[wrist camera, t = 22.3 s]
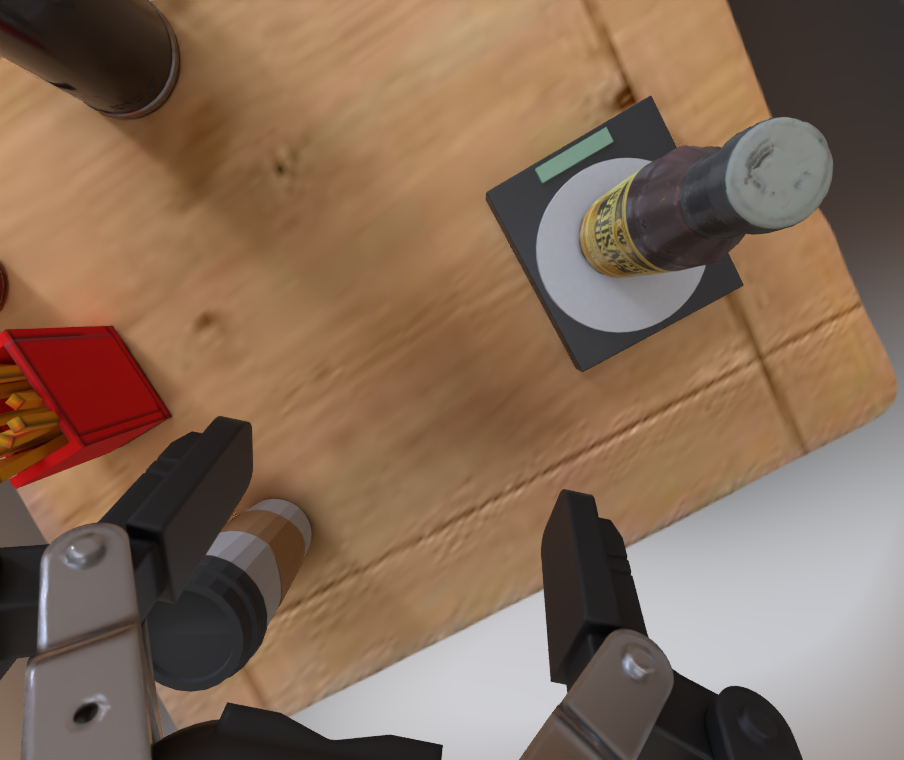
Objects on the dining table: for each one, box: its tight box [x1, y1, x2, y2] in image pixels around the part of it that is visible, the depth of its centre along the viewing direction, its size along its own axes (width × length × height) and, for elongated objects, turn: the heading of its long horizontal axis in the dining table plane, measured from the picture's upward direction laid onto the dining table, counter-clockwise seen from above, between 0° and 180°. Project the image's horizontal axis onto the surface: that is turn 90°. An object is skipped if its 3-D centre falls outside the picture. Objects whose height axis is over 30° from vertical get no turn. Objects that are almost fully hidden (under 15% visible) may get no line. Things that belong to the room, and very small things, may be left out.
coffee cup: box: [146, 499, 312, 692], centre depth 38 cm, size 8×8×15 cm
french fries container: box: [0, 326, 172, 489], centre depth 37 cm, size 7×9×14 cm
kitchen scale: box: [486, 96, 743, 372], centre depth 39 cm, size 16×14×3 cm
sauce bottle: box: [579, 117, 833, 278], centre depth 28 cm, size 6×6×20 cm
